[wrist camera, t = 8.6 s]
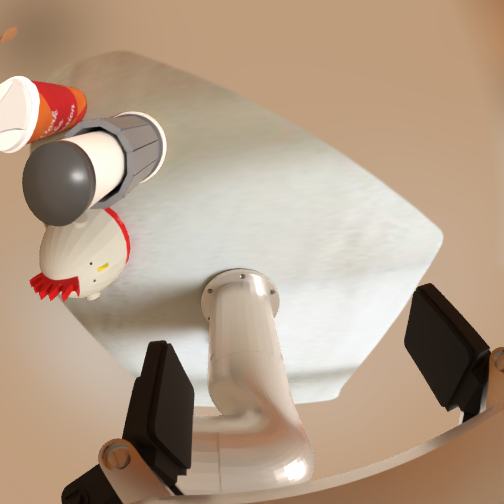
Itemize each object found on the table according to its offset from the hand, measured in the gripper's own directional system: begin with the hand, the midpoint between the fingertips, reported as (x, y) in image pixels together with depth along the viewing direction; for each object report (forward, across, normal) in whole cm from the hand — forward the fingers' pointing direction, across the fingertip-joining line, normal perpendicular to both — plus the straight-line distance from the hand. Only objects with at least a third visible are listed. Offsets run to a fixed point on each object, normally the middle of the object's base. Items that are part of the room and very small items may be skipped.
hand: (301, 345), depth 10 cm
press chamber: (+31, +14, -7) cm, 35 cm away
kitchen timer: (+32, +25, +4) cm, 41 cm away
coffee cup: (+31, +22, -16) cm, 41 cm away
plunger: (+28, +14, -7) cm, 33 cm away
